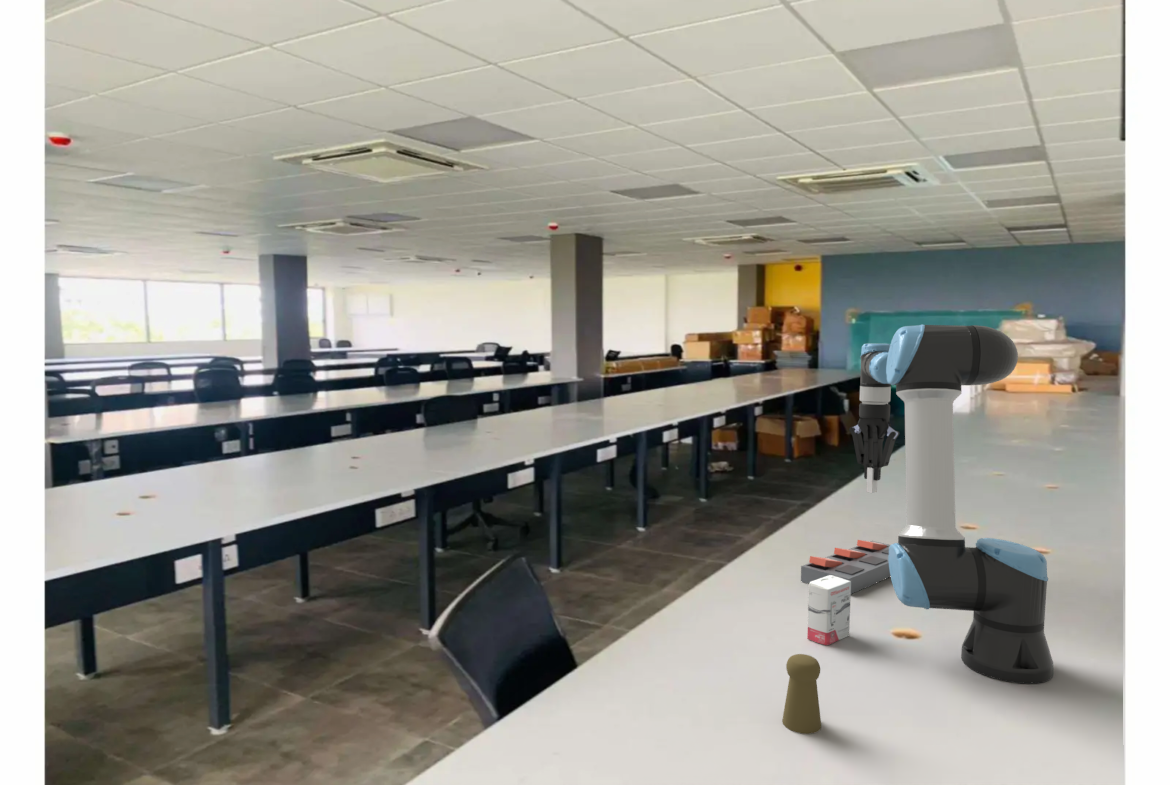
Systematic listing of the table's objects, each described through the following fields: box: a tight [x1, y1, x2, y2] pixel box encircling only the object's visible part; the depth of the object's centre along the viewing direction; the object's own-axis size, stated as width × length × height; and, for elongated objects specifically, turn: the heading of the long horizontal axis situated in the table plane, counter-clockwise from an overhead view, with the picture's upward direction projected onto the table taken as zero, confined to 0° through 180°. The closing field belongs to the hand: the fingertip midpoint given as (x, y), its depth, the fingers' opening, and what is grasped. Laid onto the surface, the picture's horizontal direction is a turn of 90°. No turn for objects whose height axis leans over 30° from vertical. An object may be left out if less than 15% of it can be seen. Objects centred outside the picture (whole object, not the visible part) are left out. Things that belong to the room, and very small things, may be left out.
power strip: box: [800, 540, 891, 595], centre depth 200 cm, size 13×44×4 cm, turn 131°
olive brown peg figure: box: [781, 653, 822, 735], centre depth 122 cm, size 6×6×11 cm
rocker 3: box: [856, 539, 887, 550], centre depth 207 cm, size 4×8×2 cm, turn 131°
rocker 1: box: [808, 555, 842, 567], centre depth 192 cm, size 4×8×2 cm, turn 131°
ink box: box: [807, 575, 852, 646], centre depth 156 cm, size 9×5×12 cm, turn 129°
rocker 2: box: [833, 547, 866, 558], centre depth 200 cm, size 4×8×2 cm, turn 131°
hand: (871, 491), depth 201 cm, fingers closed
